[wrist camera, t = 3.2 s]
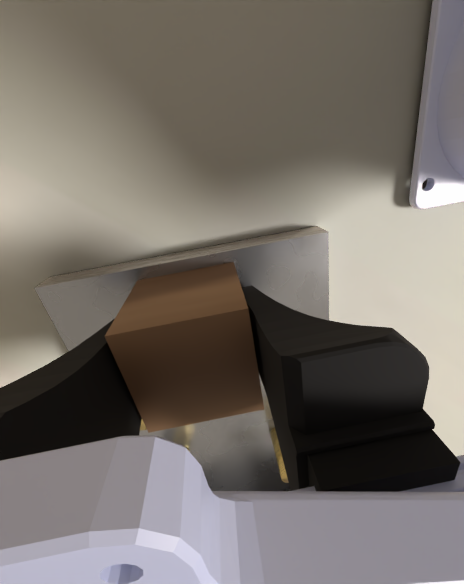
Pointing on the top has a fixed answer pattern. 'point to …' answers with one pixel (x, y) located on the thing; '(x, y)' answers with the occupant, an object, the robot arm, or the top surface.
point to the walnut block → (187, 348)
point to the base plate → (251, 271)
